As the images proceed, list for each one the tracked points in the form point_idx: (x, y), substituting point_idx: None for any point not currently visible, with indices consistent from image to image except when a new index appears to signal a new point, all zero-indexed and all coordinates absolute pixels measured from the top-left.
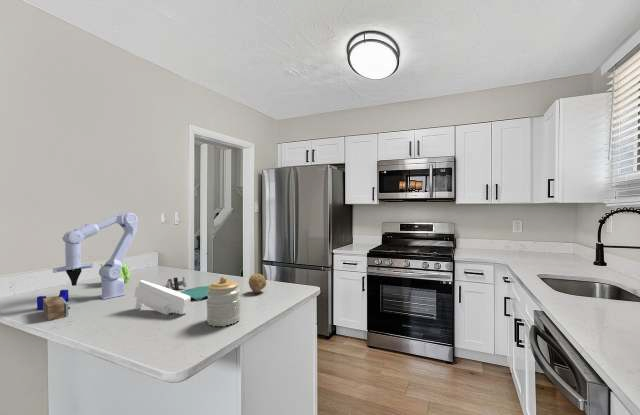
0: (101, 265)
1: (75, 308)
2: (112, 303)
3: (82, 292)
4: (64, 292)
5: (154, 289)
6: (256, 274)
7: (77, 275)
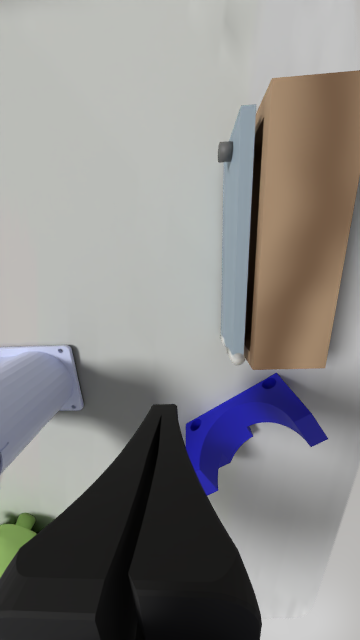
0: None
1: (178, 290)
2: (35, 240)
3: None
4: (202, 461)
5: None
6: None
7: (110, 489)
